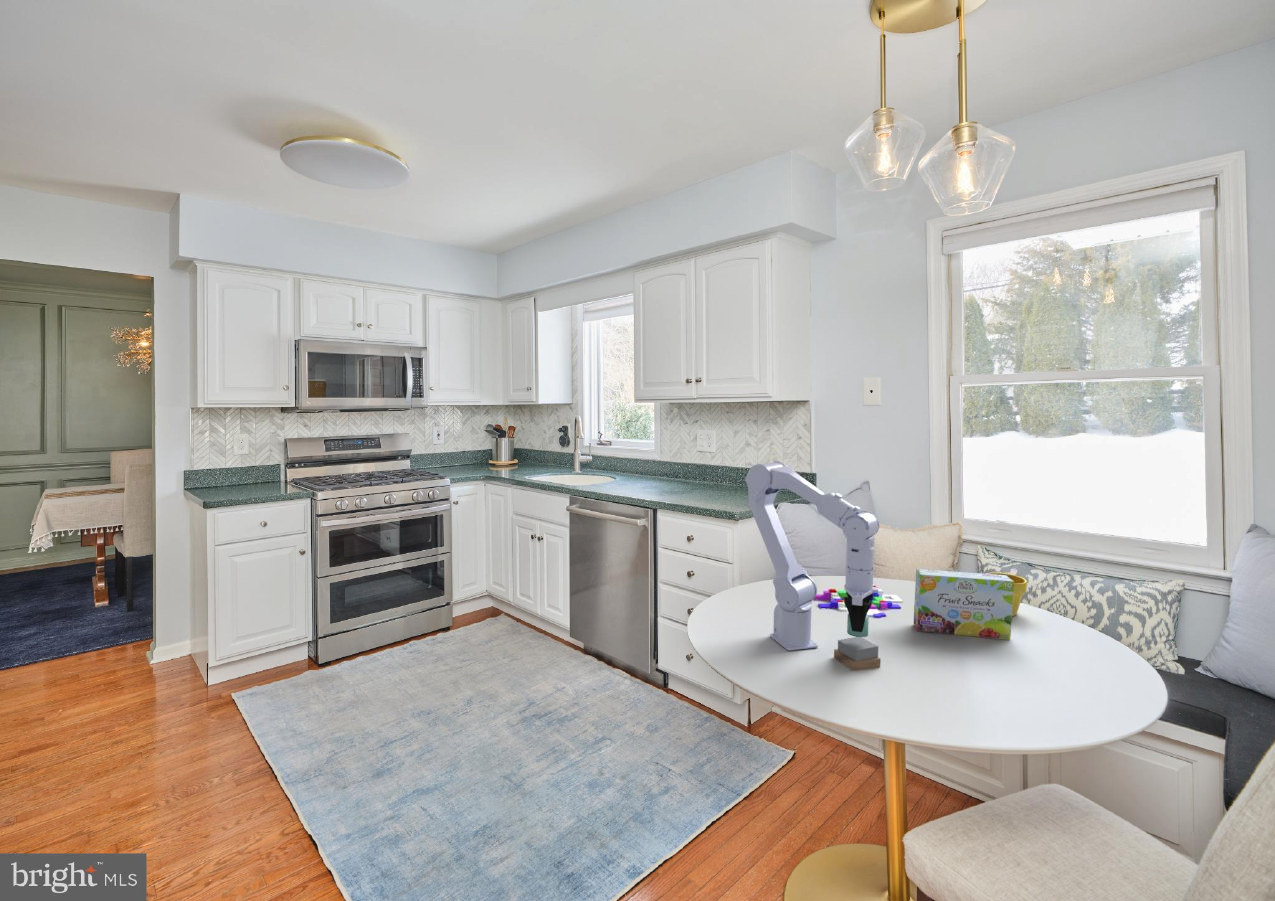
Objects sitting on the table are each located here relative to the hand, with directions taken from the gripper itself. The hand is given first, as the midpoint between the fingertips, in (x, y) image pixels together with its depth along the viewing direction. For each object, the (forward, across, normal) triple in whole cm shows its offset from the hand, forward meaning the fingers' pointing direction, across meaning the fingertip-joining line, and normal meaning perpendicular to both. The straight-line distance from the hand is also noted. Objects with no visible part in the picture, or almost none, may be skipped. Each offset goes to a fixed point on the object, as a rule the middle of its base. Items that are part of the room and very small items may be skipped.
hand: (857, 627), depth 136 cm
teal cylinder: (+1, 0, 0) cm, 1 cm away
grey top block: (+6, 0, 0) cm, 6 cm away
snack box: (+8, +29, -23) cm, 38 cm away
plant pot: (+8, +49, -36) cm, 61 cm away
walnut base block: (+9, 0, 0) cm, 9 cm away
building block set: (+9, +41, +1) cm, 42 cm away
